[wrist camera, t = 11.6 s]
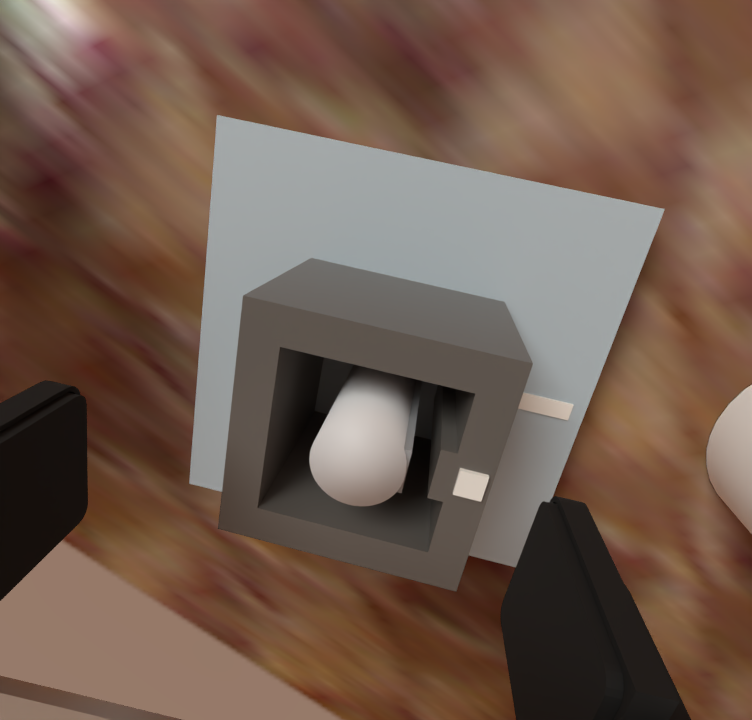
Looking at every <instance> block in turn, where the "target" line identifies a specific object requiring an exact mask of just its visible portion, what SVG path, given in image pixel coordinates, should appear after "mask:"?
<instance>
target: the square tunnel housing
mask: <svg viewBox="0 0 752 720" xmlns="http://www.w3.org/2000/svg"><path fill="white" fill-rule="evenodd" d="M324 357H325V358H329V359H333V360H337V361H341V362H346V363H350V364H354V365H358V366H362V367H366V368H371V369H375V370H379V371H383V372H387V373H391V374H396V375H400V376H404V377H408V378H412V379H416V380H421V381H425V382H429V383H433V384H437V385H438V387H437V391H436V394H435V398H434V409H433V423H432V437H431V440H430V439H426V438H422V437H418V436H414V442H413V449H412V454H411V458H410V462H409V466H408V469H407V473H406V477H405V481H404V485H403V489H402V493H399V492H396V493H395V494H394V495H393V496H392V497H390V498H389V499H388V500H386V501H384V502H382V503H379V504H376V505H372V506H353V505H348V504H345V503H342V502H340V501H337V500H335V499H334V498H332V497H331V496H329V495H328V494H326V493H325V492H324V491H323V490H322V489H321V488H320V486H319V485H318V484H317V482H316V481H315V479H314V477H313V475H312V472H311V469H310V462H309V457H310V450H311V447H312V445H313V442H314V440H315V438H316V437H317V435H318V433H319V431H320V429H321V427H322V425H323V423H324V421H325V419H326V417H327V415H328V414H325V413H321V412H317V411H315V405H316V399H317V394H318V388H319V382H320V377H321V371H322V365H323V359H324ZM532 365H533V362H532V360H531V358H530V356H529V354H528V351H527V349H526V347H525V345H524V343H523V341H522V338H521V336H520V334H519V332H518V330H517V328H516V325H515V323H514V321H513V319H512V317H511V315H510V312H509V310H508V308H507V306H506V304H505V302H503V301H499V300H494V299H490V298H486V297H481V296H477V295H472V294H468V293H464V292H459V291H455V290H450V289H446V288H442V287H437V286H433V285H429V284H424V283H420V282H415V281H411V280H407V279H402V278H398V277H393V276H389V275H385V274H380V273H376V272H371V271H367V270H363V269H358V268H354V267H350V266H345V265H341V264H336V263H332V262H328V261H323V260H319V259H314V258H310V259H308V260H306V261H305V262H303V263H301V264H299V265H297V266H296V267H294V268H292V269H290V270H288V271H287V272H285V273H283V274H281V275H279V276H277V277H276V278H274V279H272V280H270V281H268V282H267V283H265V284H263V285H261V286H259V287H258V288H256V289H254V290H252V291H250V292H248V293H247V294H245V295H243V300H242V310H241V319H240V328H239V338H238V347H237V356H236V366H235V375H234V384H233V394H232V403H231V412H230V422H229V431H228V440H227V450H226V459H225V468H224V478H223V487H222V496H221V506H220V515H219V524H218V529H221V530H225V531H229V532H232V533H236V534H240V535H244V536H248V537H251V538H255V539H259V540H263V541H266V542H270V543H274V544H278V545H282V546H285V547H289V548H293V549H297V550H300V551H304V552H308V553H312V554H316V555H319V556H323V557H327V558H331V559H335V560H338V561H342V562H346V563H350V564H353V565H357V566H361V567H365V568H369V569H372V570H376V571H380V572H384V573H388V574H391V575H395V576H399V577H403V578H406V579H410V580H414V581H418V582H422V583H425V584H429V585H433V586H437V587H440V588H444V589H448V590H452V591H457V588H458V585H459V582H460V579H461V576H462V573H463V570H464V567H465V564H466V561H467V558H468V555H469V552H470V549H471V546H472V543H473V540H474V537H475V534H476V531H477V528H478V526H479V523H480V520H481V517H482V514H483V511H484V508H485V505H486V502H487V499H488V496H489V493H490V490H491V487H492V484H493V481H494V478H495V475H496V472H497V469H498V466H499V463H500V460H501V457H502V454H503V451H504V448H505V445H506V442H507V439H508V437H509V434H510V431H511V428H512V425H513V422H514V419H515V416H516V413H517V410H518V407H519V404H520V401H521V398H522V395H523V392H524V389H525V386H526V383H527V380H528V377H529V374H530V371H531V368H532Z"/></svg>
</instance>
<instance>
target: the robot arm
mask: <svg viewBox="0 0 752 720" xmlns="http://www.w3.org/2000/svg"><path fill="white" fill-rule="evenodd" d="M87 505H88V487H87V404H86V399H85V397H83V396H81V395H80V392H79V390H78V389H77V388H76V387H74V386H69V385H65V384H61V383H56V382H52V381H43V382H40V383H38V384H36V385H34V386H32V387H30V388H29V389H27V390H25V391H23V392H21V393H19V394H17V395H15V396H13V397H11V398H10V399H8V400H6V401H4V402H2V403H0V601H1V599H3V598H4V596H6V595H7V594H8V593H9V592H10V591H11V590H12V589H13V588H14V587H15V586H16V585H17V584H18V583H19V582H20V581H21V580H22V579H23V578H24V577H25V576H26V575H27V574H28V573H29V572H30V571H31V570H32V569H33V568H34V567H35V566H36V565H37V564H38V563H39V562H40V561H41V560H42V559H43V558H44V557H45V556H46V555H47V554H48V553H49V552H50V551H51V550H52V549H53V548H54V547H55V546H56V545H57V544H58V543H59V542H61V541H62V540H63V539H64V538H65V537H66V536H67V535H68V534H69V533H70V532H71V531H72V530H73V529H74V528H75V527H76V526H77V525H78V524H79V523H80V521H81V520H82V519H83V517H84V515H85V513H86V510H87ZM501 626H502V632H503V639H504V645H505V651H506V657H507V664H508V670H509V676H510V683H511V689H512V695H513V701H514V708H515V714H516V720H691V719H690V717H689V714H688V712H687V710H686V708H685V706H684V704H683V702H682V700H681V698H680V696H679V694H678V692H677V689H676V687H675V685H674V683H673V681H672V679H671V677H670V675H669V673H668V671H667V669H666V667H665V665H664V662H663V660H662V658H661V656H660V654H659V652H658V650H657V648H656V646H655V644H654V642H653V640H652V637H651V635H650V633H649V631H648V629H647V627H646V625H645V623H644V621H643V619H642V617H641V615H640V613H639V610H638V608H637V606H636V604H635V602H634V600H633V598H632V596H631V594H630V592H629V590H628V589H627V587H626V586H625V584H624V583H623V581H622V579H621V577H620V575H619V573H618V571H617V568H616V566H615V564H614V562H613V560H612V558H611V556H610V554H609V552H608V550H607V547H606V545H605V543H604V541H603V539H602V537H601V535H600V533H599V531H598V529H597V526H596V524H595V522H594V520H593V518H592V516H591V514H590V512H589V510H588V508H587V506H586V504H585V503H582V502H578V501H574V500H570V499H565V498H561V497H557V496H555V497H553V498H552V499H551V500H550V502H545V501H543V502H542V503H541V504H540V506H539V508H538V511H537V513H536V516H535V518H534V521H533V524H532V526H531V529H530V532H529V534H528V537H527V539H526V542H525V545H524V547H523V550H522V553H521V555H520V558H519V560H518V563H517V566H516V568H515V571H514V573H513V576H512V579H511V581H510V584H509V587H508V589H507V592H506V594H505V597H504V600H503V603H502V607H501ZM0 720H181V719H177V718H173V717H169V716H164V715H160V714H156V713H152V712H148V711H144V710H140V709H136V708H132V707H128V706H124V705H119V704H115V703H111V702H107V701H103V700H99V699H95V698H91V697H87V696H82V695H78V694H74V693H70V692H66V691H62V690H58V689H54V688H50V687H45V686H41V685H37V684H33V683H28V682H24V681H20V680H16V679H12V678H7V677H3V676H0Z"/></svg>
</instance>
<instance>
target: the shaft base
mask: <svg viewBox="0 0 752 720" xmlns="http://www.w3.org/2000/svg"><path fill="white" fill-rule="evenodd" d="M664 210H665V209H661V208H656V207H652V206H647V205H642V204H637V203H633V202H628V201H623V200H618V199H614V198H609V197H604V196H599V195H595V194H590V193H585V192H580V191H576V190H571V189H566V188H561V187H557V186H552V185H547V184H542V183H538V182H533V181H528V180H523V179H518V178H514V177H509V176H504V175H499V174H495V173H490V172H485V171H480V170H476V169H471V168H466V167H461V166H457V165H452V164H447V163H442V162H438V161H433V160H428V159H423V158H419V157H414V156H409V155H404V154H400V153H395V152H390V151H385V150H381V149H376V148H371V147H366V146H362V145H357V144H352V143H347V142H342V141H338V140H333V139H328V138H323V137H319V136H314V135H309V134H304V133H300V132H295V131H290V130H285V129H281V128H276V127H271V126H266V125H262V124H257V123H252V122H247V121H243V120H238V119H233V118H228V117H224V116H219V115H217V124H216V138H215V151H214V164H213V177H212V190H211V204H210V217H209V230H208V243H207V256H206V270H205V283H204V296H203V309H202V322H201V336H200V349H199V362H198V375H197V388H196V402H195V415H194V428H193V441H192V454H191V467H190V481H189V483H190V484H194V485H197V486H201V487H205V488H209V489H213V490H217V491H221V492H222V487H223V478H224V468H225V459H226V450H227V440H228V431H229V422H230V412H231V403H232V394H233V384H234V375H235V366H236V356H237V347H238V338H239V328H240V319H241V310H242V300H243V295H245V294H247V293H248V292H250V291H252V290H254V289H256V288H258V287H259V286H261V285H263V284H265V283H267V282H268V281H270V280H272V279H274V278H276V277H277V276H279V275H281V274H283V273H285V272H287V271H288V270H290V269H292V268H294V267H296V266H297V265H299V264H301V263H303V262H305V261H306V260H308V259H310V258H314V259H319V260H323V261H328V262H332V263H336V264H341V265H345V266H350V267H354V268H358V269H363V270H367V271H371V272H376V273H380V274H385V275H389V276H393V277H398V278H402V279H407V280H411V281H415V282H420V283H424V284H429V285H433V286H437V287H442V288H446V289H450V290H455V291H459V292H464V293H468V294H472V295H477V296H481V297H486V298H490V299H494V300H499V301H503V302H505V304H506V306H507V308H508V310H509V312H510V315H511V317H512V319H513V321H514V323H515V325H516V328H517V330H518V332H519V334H520V336H521V338H522V341H523V343H524V345H525V347H526V349H527V351H528V354H529V356H530V358H531V360H532V362H533V365H532V368H531V371H530V374H529V377H528V380H527V383H526V386H525V389H524V392H523V395H522V398H521V401H520V404H519V407H518V410H517V413H516V416H515V419H514V422H513V425H512V428H511V431H510V434H509V437H508V439H507V442H506V445H505V448H504V451H503V454H502V457H501V460H500V463H499V466H498V469H497V472H496V475H495V478H494V481H493V484H492V487H491V490H490V493H489V496H488V499H487V502H486V505H485V508H484V511H483V514H482V517H481V520H480V523H479V526H478V528H477V531H476V534H475V537H474V540H473V543H472V546H471V549H470V552H469V556H473V557H477V558H481V559H485V560H489V561H493V562H496V563H500V564H504V565H508V566H512V567H516V566H517V563H518V560H519V558H520V555H521V553H522V550H523V547H524V545H525V542H526V539H527V537H528V534H529V532H530V529H531V526H532V524H533V521H534V518H535V516H536V513H537V511H538V508H539V506H540V504H541V503H542V502H543V501H545V502H550V500H551V499H552V497H553V495H554V492H555V489H556V487H557V484H558V482H559V479H560V477H561V474H562V471H563V469H564V466H565V464H566V461H567V459H568V456H569V453H570V451H571V448H572V446H573V443H574V441H575V438H576V435H577V433H578V430H579V428H580V425H581V423H582V420H583V417H584V415H585V412H586V410H587V407H588V405H589V402H590V400H591V397H592V394H593V392H594V389H595V387H596V384H597V382H598V379H599V376H600V374H601V371H602V369H603V366H604V364H605V361H606V358H607V356H608V353H609V351H610V348H611V346H612V343H613V340H614V338H615V335H616V333H617V330H618V328H619V325H620V323H621V320H622V317H623V315H624V312H625V310H626V307H627V305H628V302H629V299H630V297H631V294H632V292H633V289H634V287H635V284H636V281H637V279H638V276H639V274H640V271H641V269H642V266H643V263H644V261H645V258H646V256H647V253H648V251H649V248H650V245H651V243H652V240H653V238H654V235H655V233H656V230H657V228H658V225H659V222H660V220H661V217H662V215H663V212H664ZM437 387H438V385H437V384H433V383H429V382H425V381H421V380H416V379H412V378H408V377H404V376H400V375H396V374H391V373H387V372H383V371H379V370H375V369H371V368H366V367H362V366H358V365H354V364H350V363H346V362H341V361H337V360H333V359H329V358H325V357H324V359H323V365H322V371H321V377H320V382H319V388H318V394H317V399H316V405H315V411H317V412H321V413H325V414H328V415H327V417H326V419H325V421H324V423H323V425H322V427H321V429H320V431H319V433H318V435H317V437H316V438H315V440H314V442H313V445H312V447H311V450H310V457H309V462H310V469H311V472H312V475H313V477H314V479H315V481H316V482H317V484H318V485H319V486H320V488H321V489H322V490H323V491H324V492H325V493H326V494H328V495H329V496H331V497H332V498H334V499H335V500H337V501H340V502H342V503H345V504H348V505H353V506H372V505H376V504H379V503H382V502H384V501H386V500H388V499H389V498H390V497H392V496H393V495H394V494H395V493H396V492H399V493H402V489H403V485H404V481H405V477H406V473H407V469H408V466H409V462H410V458H411V454H412V449H413V442H414V436H418V437H422V438H426V439H430V440H431V437H432V423H433V409H434V398H435V394H436V391H437Z"/></svg>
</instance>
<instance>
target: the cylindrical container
mask: <svg viewBox="0 0 752 720" xmlns="http://www.w3.org/2000/svg"><path fill="white" fill-rule="evenodd" d="M706 466H707V471H708V475H709V479H710V481H711V483H712V485H713V487H714V489H715V491H716V493H717V494H718V496H719V497H720V498H721V499H722V500H723V501H724V503H725V504H726V505H727V506H728V507H729V508H730V510H731V511H732V512H733V513H734V514H735V515H736V517H737V518H738V519H739V520H740V521H741V522H742V524H743V525H744V526H745V527H746V528H747V529H748V531H749V532H750V533H751V534H752V385H750V386H749V387H747V388H746V389H745V390H744V391H743V392H741V393H740V394H739V395H738V396H737V397H736V398H735V399H734V400H733V401H732V402H731V403H730V404H729V405H728V406H727V408H726V409H725V410H724V412H723V413H722V414H721V416H720V417H719V418H718V420H717V422H716V424H715V426H714V428H713V430H712V432H711V434H710V438H709V442H708V446H707V450H706Z"/></svg>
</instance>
